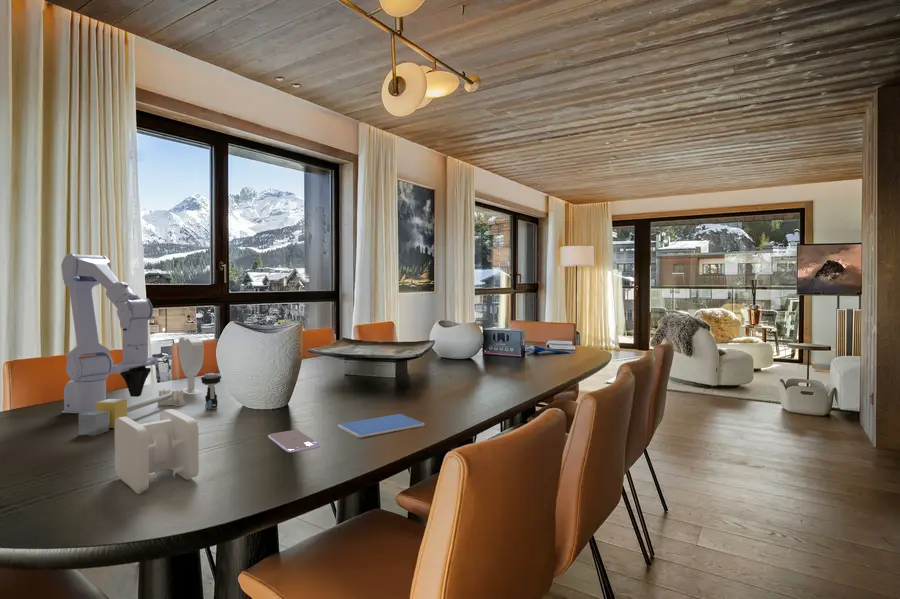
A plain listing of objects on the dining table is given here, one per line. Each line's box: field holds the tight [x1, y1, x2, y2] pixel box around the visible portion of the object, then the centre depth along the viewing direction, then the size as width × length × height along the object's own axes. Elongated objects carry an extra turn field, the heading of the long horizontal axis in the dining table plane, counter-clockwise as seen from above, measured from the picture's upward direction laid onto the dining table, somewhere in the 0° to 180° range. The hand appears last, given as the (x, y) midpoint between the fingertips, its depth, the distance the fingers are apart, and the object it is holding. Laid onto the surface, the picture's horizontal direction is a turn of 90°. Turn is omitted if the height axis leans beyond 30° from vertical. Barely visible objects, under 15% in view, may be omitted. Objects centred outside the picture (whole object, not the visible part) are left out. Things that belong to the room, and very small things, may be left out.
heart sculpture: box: [177, 336, 205, 393], centre depth 171 cm, size 16×5×18 cm, turn 43°
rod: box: [127, 391, 172, 413], centre depth 139 cm, size 1×27×1 cm, turn 174°
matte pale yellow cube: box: [96, 398, 128, 429], centre depth 129 cm, size 5×4×6 cm
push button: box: [200, 372, 222, 410], centre depth 148 cm, size 7×5×10 cm
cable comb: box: [157, 388, 185, 407], centre depth 151 cm, size 7×2×4 cm, turn 84°
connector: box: [77, 410, 110, 437], centre depth 124 cm, size 4×5×5 cm
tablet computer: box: [337, 413, 426, 439], centre depth 132 cm, size 19×13×1 cm, turn 128°
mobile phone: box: [267, 429, 321, 453], centre depth 118 cm, size 8×1×15 cm
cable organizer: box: [114, 408, 200, 495], centre depth 95 cm, size 15×11×12 cm
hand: (135, 396), depth 135 cm, fingers closed
